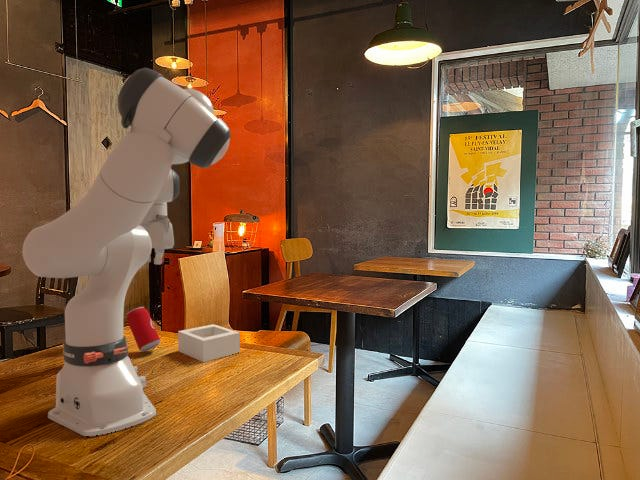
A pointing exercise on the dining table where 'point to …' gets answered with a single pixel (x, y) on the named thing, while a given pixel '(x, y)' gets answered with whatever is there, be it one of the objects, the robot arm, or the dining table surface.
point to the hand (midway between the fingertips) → (152, 263)
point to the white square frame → (208, 342)
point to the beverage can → (143, 329)
